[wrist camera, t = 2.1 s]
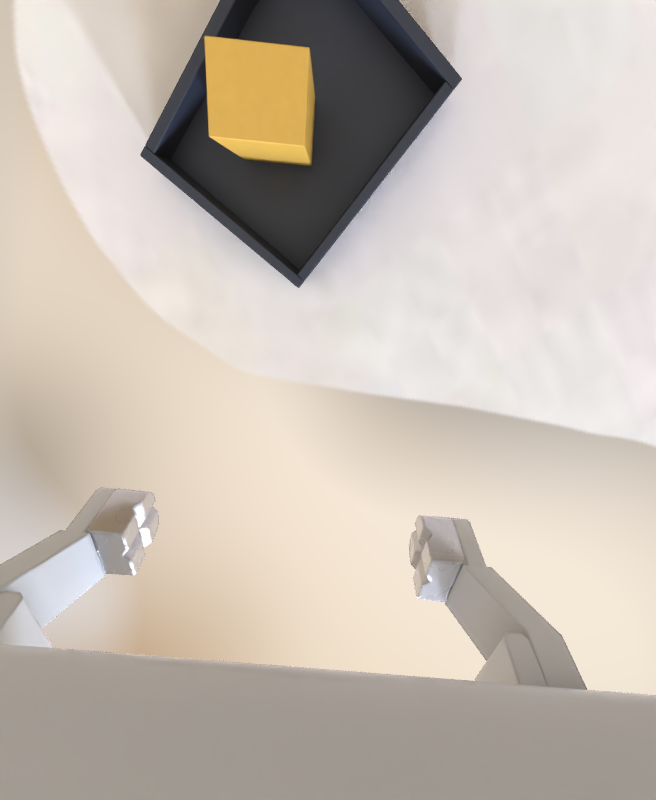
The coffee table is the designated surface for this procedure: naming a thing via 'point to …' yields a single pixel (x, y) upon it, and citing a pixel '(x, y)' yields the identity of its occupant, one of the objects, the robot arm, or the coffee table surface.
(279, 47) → the cheese
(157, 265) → the coffee table surface
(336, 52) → the pan
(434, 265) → the coffee table surface
